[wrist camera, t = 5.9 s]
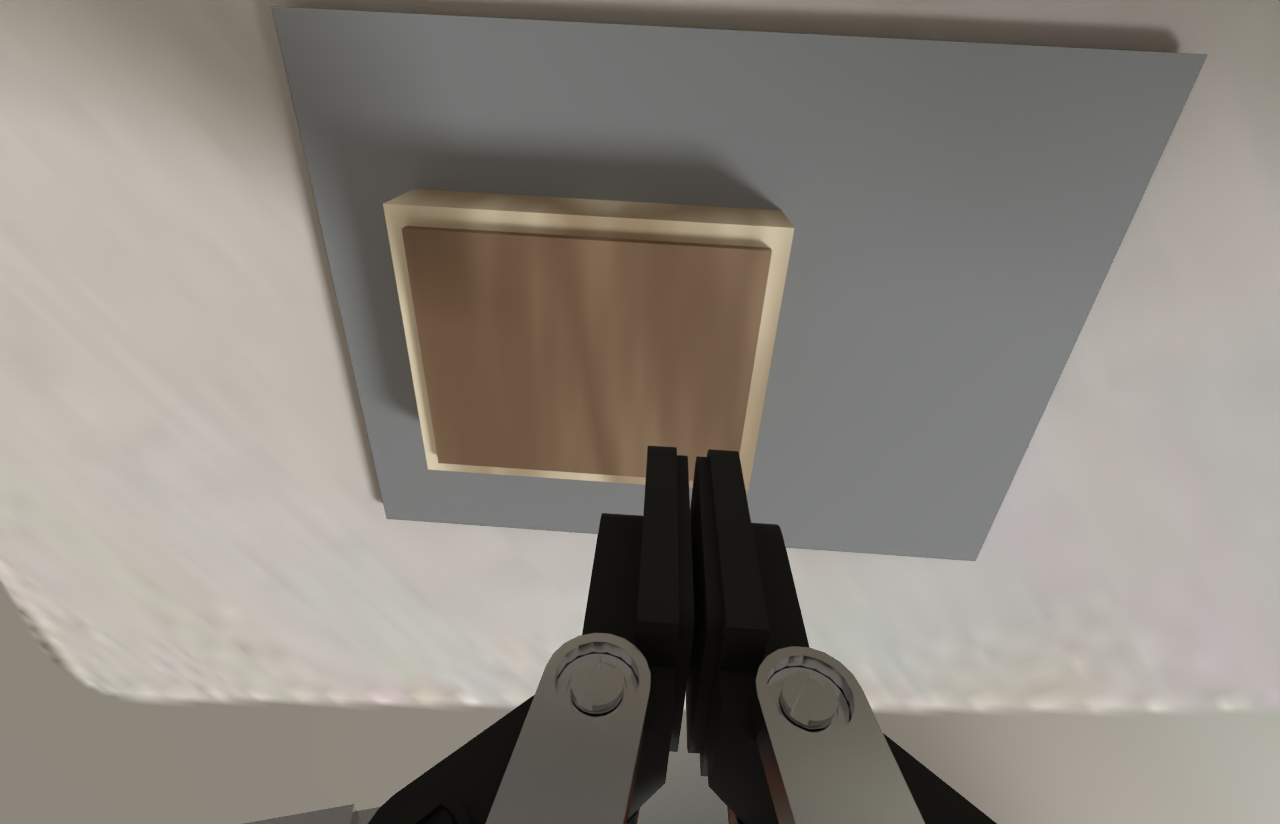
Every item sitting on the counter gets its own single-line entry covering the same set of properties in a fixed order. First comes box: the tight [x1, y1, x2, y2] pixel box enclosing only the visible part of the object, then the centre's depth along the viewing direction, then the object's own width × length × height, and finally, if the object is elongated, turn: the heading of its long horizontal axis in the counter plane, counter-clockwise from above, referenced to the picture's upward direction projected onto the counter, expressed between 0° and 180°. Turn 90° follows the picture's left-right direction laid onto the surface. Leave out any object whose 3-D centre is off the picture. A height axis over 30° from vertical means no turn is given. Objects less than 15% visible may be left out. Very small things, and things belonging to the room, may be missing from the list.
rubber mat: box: [271, 6, 1207, 561], centre depth 18 cm, size 22×16×1 cm
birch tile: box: [383, 189, 794, 492], centre depth 17 cm, size 2×8×10 cm
